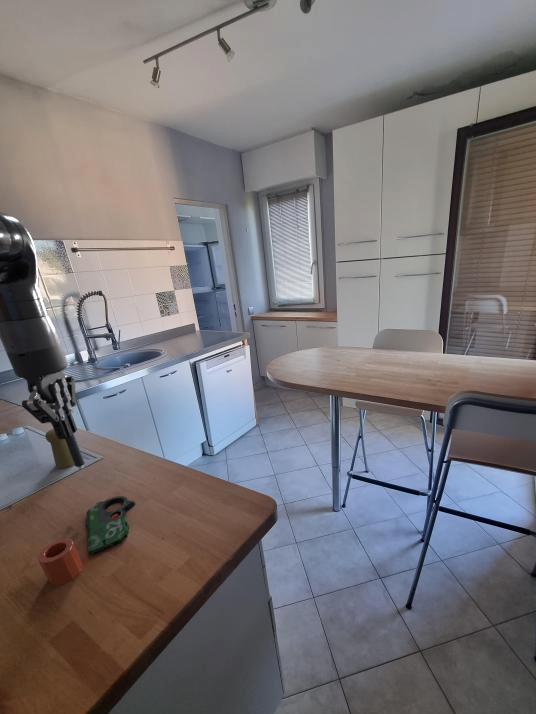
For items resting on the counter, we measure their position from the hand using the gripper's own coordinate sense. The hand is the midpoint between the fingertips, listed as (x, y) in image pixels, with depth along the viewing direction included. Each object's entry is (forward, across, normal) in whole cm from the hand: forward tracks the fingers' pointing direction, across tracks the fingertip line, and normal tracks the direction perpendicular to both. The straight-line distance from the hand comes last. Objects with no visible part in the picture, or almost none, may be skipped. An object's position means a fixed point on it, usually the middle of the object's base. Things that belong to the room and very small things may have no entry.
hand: (68, 435), depth 63 cm
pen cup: (+23, +11, -2) cm, 26 cm away
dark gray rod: (+8, 0, 0) cm, 8 cm away
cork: (+23, -31, -21) cm, 44 cm away
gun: (+23, -1, +2) cm, 23 cm away
